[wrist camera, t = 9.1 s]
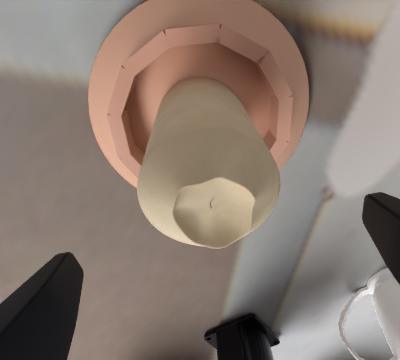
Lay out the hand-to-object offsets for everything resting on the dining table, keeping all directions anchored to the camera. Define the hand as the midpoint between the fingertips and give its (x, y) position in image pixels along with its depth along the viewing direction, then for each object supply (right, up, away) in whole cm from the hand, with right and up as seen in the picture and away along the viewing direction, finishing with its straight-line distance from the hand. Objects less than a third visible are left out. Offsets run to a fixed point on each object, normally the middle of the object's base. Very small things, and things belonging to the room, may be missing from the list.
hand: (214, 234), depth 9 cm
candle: (0, +6, +10) cm, 11 cm away
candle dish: (0, +6, +10) cm, 12 cm away
